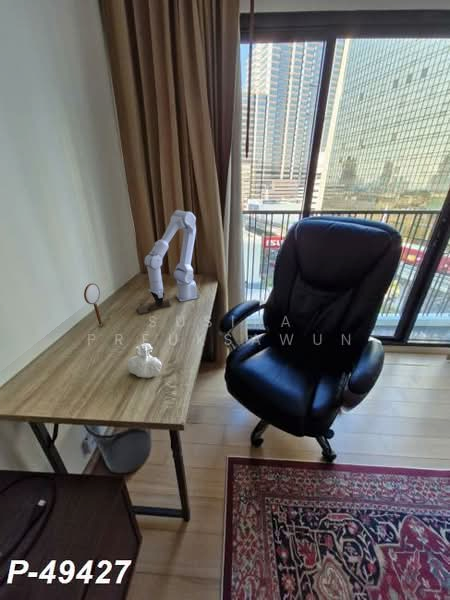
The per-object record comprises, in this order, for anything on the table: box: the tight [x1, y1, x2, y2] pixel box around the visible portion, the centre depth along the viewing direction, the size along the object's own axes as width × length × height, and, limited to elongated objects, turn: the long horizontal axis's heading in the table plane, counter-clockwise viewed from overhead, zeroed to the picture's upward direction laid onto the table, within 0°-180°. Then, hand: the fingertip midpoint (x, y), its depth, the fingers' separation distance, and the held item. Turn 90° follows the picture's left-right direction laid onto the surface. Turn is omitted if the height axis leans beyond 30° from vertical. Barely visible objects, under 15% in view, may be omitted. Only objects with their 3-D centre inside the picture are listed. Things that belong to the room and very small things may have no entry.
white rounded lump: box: [127, 342, 163, 379], centre depth 83 cm, size 12×8×11 cm
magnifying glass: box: [83, 283, 103, 327], centre depth 106 cm, size 9×2×20 cm, turn 169°
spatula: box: [137, 298, 171, 315], centre depth 123 cm, size 15×5×3 cm, turn 116°
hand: (159, 305), depth 124 cm, fingers closed on spatula, 2 cm apart
